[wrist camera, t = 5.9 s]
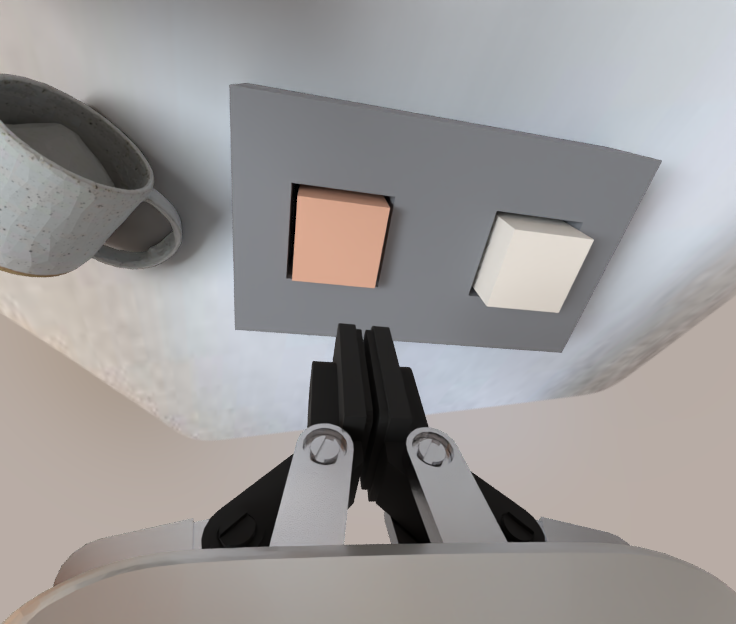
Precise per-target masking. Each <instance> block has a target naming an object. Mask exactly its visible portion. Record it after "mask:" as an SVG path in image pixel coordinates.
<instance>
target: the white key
mask: <svg viewBox="0 0 736 624" xmlns="http://www.w3.org/2000/svg"><path fill="white" fill-rule="evenodd" d="M593 241H594V239H592V238H590V237H589V236H587V235H585V234H584V233H582V232H580V231H579V230H577V229H575V228H574V227H572V226H570V225H569V224H567V223H565V222H564V221H562V220H560V219H553V218H546V217H538V216H531V215H524V214H517V213H509V212H502V211H497V212H496V215H495V218H494V221H493V224H492V227H491V230H490V233H489V236H488V239H487V242H486V245H485V248H484V251H483V254H482V257H481V260H480V263H479V265H478V268H477V271H476V274H475V277H474V280H473V283H472V287H473V288H474V289H475V291H476V292H477V294H478V295H479V296H480V298H481V299H482V300H483V302H484V303H485V305H486V306H488V307H499V308H510V309H521V310H532V311H543V312H555V313H559V311H560V309H561V307H562V305H563V303H564V301H565V299H566V297H567V295H568V293H569V291H570V289H571V286H572V284H573V282H574V280H575V278H576V276H577V274H578V272H579V270H580V268H581V266H582V264H583V262H584V260H585V258H586V256H587V254H588V252H589V249H590V247H591V245H592V243H593Z"/></svg>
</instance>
